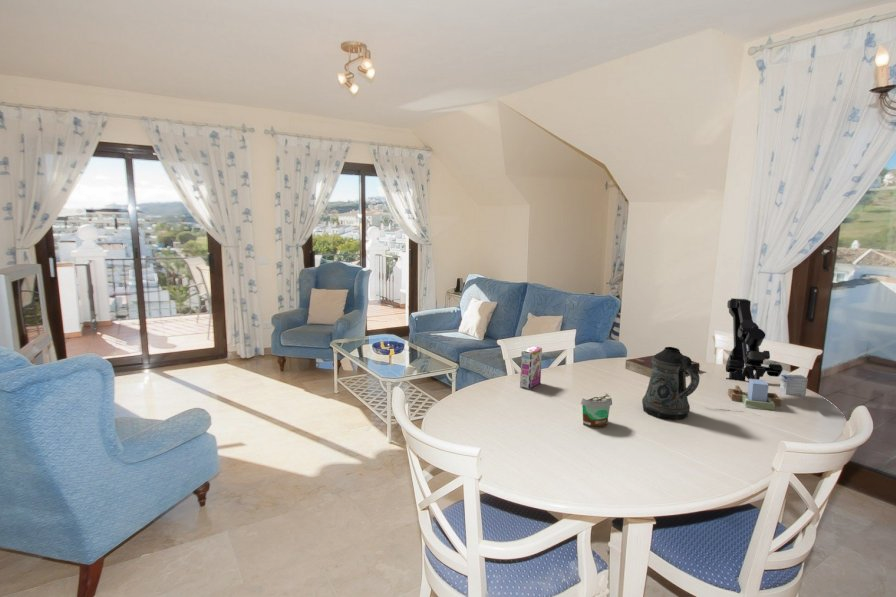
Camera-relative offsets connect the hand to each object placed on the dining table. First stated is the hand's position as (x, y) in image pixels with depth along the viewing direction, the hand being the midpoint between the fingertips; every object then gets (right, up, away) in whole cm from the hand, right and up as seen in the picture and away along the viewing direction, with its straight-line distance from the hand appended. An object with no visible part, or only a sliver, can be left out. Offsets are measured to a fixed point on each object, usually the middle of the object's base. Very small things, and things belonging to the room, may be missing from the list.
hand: (755, 387), depth 188 cm
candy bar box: (-84, -4, +23) cm, 88 cm away
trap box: (+1, -7, +3) cm, 7 cm away
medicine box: (+22, -6, +11) cm, 25 cm away
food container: (-67, -10, -19) cm, 71 cm away
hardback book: (-16, -1, +46) cm, 49 cm away
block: (-1, -6, -2) cm, 7 cm away
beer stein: (-37, -9, -7) cm, 39 cm away
